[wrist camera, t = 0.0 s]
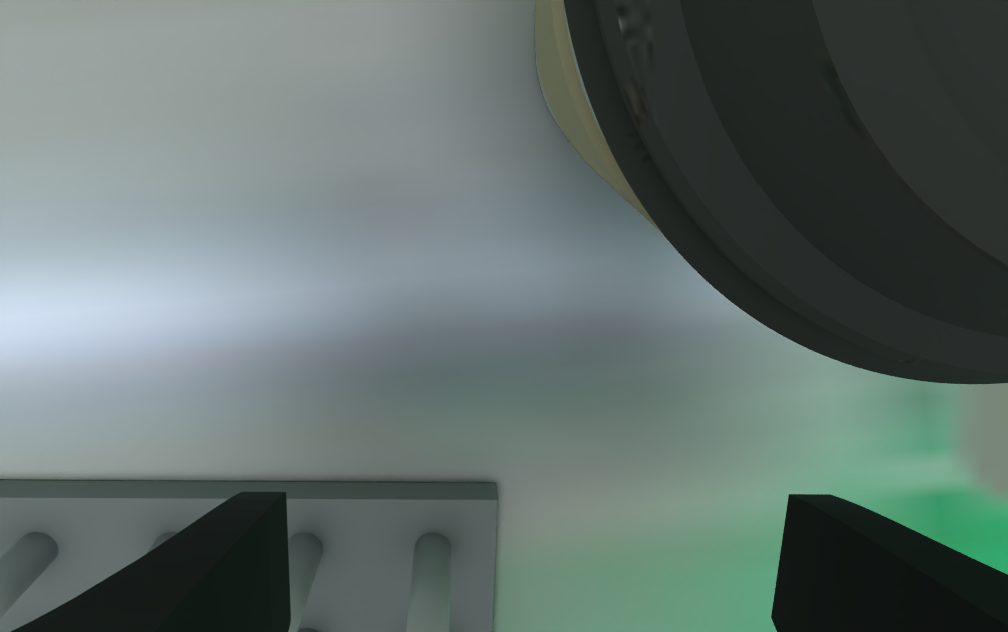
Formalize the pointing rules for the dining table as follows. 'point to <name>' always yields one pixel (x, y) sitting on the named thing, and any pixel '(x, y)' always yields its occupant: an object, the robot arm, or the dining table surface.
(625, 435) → the dining table surface
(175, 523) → the dish rack
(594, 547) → the dining table surface
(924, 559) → the robot arm
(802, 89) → the coffee cup
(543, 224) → the dining table surface
